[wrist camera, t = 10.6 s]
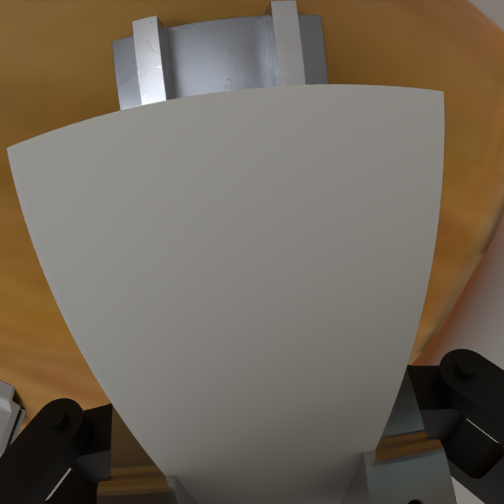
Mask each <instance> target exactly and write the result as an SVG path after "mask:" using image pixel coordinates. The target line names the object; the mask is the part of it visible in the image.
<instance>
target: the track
mask: <svg viewBox="0 0 504 504" xmlns="http://www.w3.org/2000/svg"><path fill="white" fill-rule="evenodd" d="M132 23H133V34H134V36H130V37H127V38H123V39H120V40H116V41H113V42H112V46H113V56H114V65H115V74H116V81H117V89H118V96H119V103H120V110H125V109H129V108H133V107H137V106H142V105H146V104H151V103H156V102H161V101H166V100H171V99H177V98H182V97H188V96H194V95H201V94H207V93H215V92H222V91H230V90H239V89H249V88H260V87H272V86H288V85H314V84H328V77H327V66H326V56H325V47H324V39H323V31H322V23H321V16H320V15H298V14H297V7H296V1H270V4H269V6H268V8H267V10H266V12H265V14H264V16H251V17H238V18H228V19H219V20H212V21H204V22H198V23H191V24H185V25H180V26H174V27H169V28H167V27H166V26H165V25H164V24H163V23H162V21H161V20H160V19H159V18H158V17H157V16H152V17H148V18H144V19H140V20H136V21H132Z"/></svg>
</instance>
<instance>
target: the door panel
mask: <svg viewBox="0 0 504 504" xmlns="http://www.w3.org/2000/svg"><path fill="white" fill-rule="evenodd" d="M7 153H8V157H9V162H10V167H11V171H12V175H13V179H14V183H15V187H16V191H17V195H18V198H19V202H20V205H21V209H22V212H23V215H24V219H25V222H26V225H27V228H28V231H29V234H30V237H31V240H32V243H33V246H34V248H35V251H36V254H37V257H38V259H39V262H40V264H41V267H42V270H43V272H44V275H45V277H46V279H47V282H48V284H49V287H50V289H51V291H52V294H53V296H54V298H55V300H56V303H57V305H58V307H59V309H60V311H61V313H62V316H63V318H64V320H65V322H66V324H67V326H68V328H69V330H70V332H71V334H72V336H73V338H74V340H75V342H76V344H77V345H78V347H79V349H80V351H81V353H82V355H83V357H84V358H85V360H86V362H87V364H88V365H89V367H90V369H91V371H92V372H93V374H94V376H95V377H96V379H97V381H98V382H99V384H100V386H101V387H102V389H103V391H104V392H105V394H106V395H107V397H108V399H109V400H110V402H111V403H112V405H113V406H114V408H115V409H116V411H117V412H118V414H119V415H120V417H121V418H122V420H123V421H124V423H125V424H126V425H127V427H128V428H129V430H130V431H131V432H132V434H133V435H134V437H135V438H136V439H137V441H138V442H139V443H140V445H141V446H142V447H143V449H144V450H145V451H146V453H147V454H148V455H149V456H150V458H151V459H152V460H153V461H154V463H155V464H156V465H157V466H158V468H159V469H160V470H161V471H162V472H163V474H164V475H165V476H176V478H177V479H178V480H179V481H180V483H181V484H182V485H183V486H184V488H185V489H186V490H187V491H188V492H189V493H190V495H191V496H192V497H193V498H194V499H195V500H196V502H197V503H198V504H340V503H341V501H342V499H343V497H344V495H345V493H346V490H347V488H348V486H349V484H350V481H351V479H352V477H353V474H354V472H355V470H356V467H357V465H358V462H359V460H360V457H361V455H362V452H367V451H371V450H375V449H376V447H377V445H378V443H379V440H380V438H381V436H382V433H383V431H384V428H385V426H386V423H387V421H388V418H389V416H390V413H391V411H392V408H393V405H394V403H395V400H396V397H397V394H398V391H399V389H400V386H401V383H402V380H403V377H404V374H405V371H406V367H407V364H408V361H409V358H410V354H411V351H412V347H413V344H414V340H415V337H416V333H417V329H418V325H419V322H420V318H421V313H422V309H423V305H424V301H425V296H426V292H427V287H428V282H429V277H430V272H431V266H432V261H433V255H434V248H435V242H436V235H437V228H438V220H439V212H440V202H441V191H442V179H443V162H444V91H437V90H429V89H419V88H409V87H397V86H381V85H356V84H314V85H288V86H272V87H260V88H249V89H239V90H230V91H222V92H215V93H207V94H201V95H194V96H188V97H182V98H177V99H171V100H166V101H161V102H156V103H151V104H146V105H142V106H137V107H133V108H129V109H125V110H121V111H117V112H113V113H109V114H105V115H102V116H98V117H94V118H91V119H87V120H84V121H81V122H77V123H74V124H71V125H68V126H65V127H62V128H59V129H56V130H53V131H50V132H47V133H44V134H42V135H39V136H36V137H33V138H31V139H28V140H25V141H23V142H20V143H18V144H15V145H13V146H10V147H8V148H7Z"/></svg>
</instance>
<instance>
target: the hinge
mask: <svg viewBox="0 0 504 504" xmlns="http://www.w3.org/2000/svg"><path fill="white" fill-rule="evenodd" d="M14 392H15V388H14V386H12V385H9V384H7V383H5V382H2V381H0V457H1V456H2V454H3V453H4V452H5V451H6V450H7V449H8V447H9V446H10V445H11V444H12V443H13V441H14V440H15V439H16V438H17V436H18V433H19V430H20V427H21V425H22V422H23V419H24V417H25V414H26V411H25V410H24V409H22V408H20V407H21V406H19V405H18V404H16V403H15V402H13V401H12V400H13V396H14Z"/></svg>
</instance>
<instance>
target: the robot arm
mask: <svg viewBox="0 0 504 504" xmlns="http://www.w3.org/2000/svg"><path fill="white" fill-rule="evenodd" d="M467 419H468V420H470V421H471V422H472V423H474V424H475V425H476V426H477V427H479V428H480V429H481V430H483V431H484V432H485V433H487V434H488V435H489V436H491V437H492V438H493V439H495V440H496V441H497V442H498V443H497V442H495V441H494V440H492V439H491V438H490V437H488V436H487V435H486V434H484V433H483V432H482V431H481V430H479V429H478V428H477V427H475V426H474V425H473V424H471V423H470V422H469V421H467ZM499 443H500V444H499ZM69 468H71V471H70V472H69V473H68V475H67V476H66V477H65V479H64V480H63V481H62V483H61V484H60V485H59V487H58V488H57V489H56V491H55V492H54V493H53V495H52V496H51V497H50V498H49V499H48V500H46V498H47V497H48V496H49V494H50V493H51V492H52V490H53V489H54V488H55V486H56V485H57V484H58V482H59V481H60V480H61V478H62V477H63V476H64V475H65V473H66V472H67V470H68V469H69ZM451 476H452V477H453V478H455V479H456V480H457V481H458V482H459V483H461V484H462V485H463V486H464V487H465V488H467V489H468V490H469V491H470V492H472V493H473V494H474V495H475V496H477V497H478V498H479V499H480V500H481V501H483V502H484V503H485V504H504V370H502V369H501V368H499V367H498V366H496V365H495V364H493V363H492V362H490V361H489V360H487V359H486V358H484V357H483V356H481V355H480V354H478V353H476V352H474V351H471V350H467V349H457V350H453V351H450V352H448V353H447V354H446V355H445V356H444V357H443V358H442V360H441V362H440V365H439V366H411V365H407V367H406V371H405V374H404V377H403V380H402V383H401V386H400V389H399V391H398V394H397V397H396V400H395V403H394V405H393V408H392V411H391V413H390V416H389V418H388V421H387V423H386V426H385V428H384V431H383V433H382V436H381V438H380V440H379V443H378V445H377V447H376V449H375V450H371V451H367V452H362V455H361V457H360V460H359V462H358V465H357V467H356V470H355V472H354V474H353V477H352V479H351V481H350V484H349V486H348V488H347V490H346V493H345V495H344V497H343V499H342V501H341V503H340V504H457V502H456V497H455V492H454V487H453V483H452V479H451ZM45 500H46V501H45ZM0 504H198V503H197V502H196V500H195V499H194V498H193V497H192V496H191V495H190V493H189V492H188V491H187V490H186V489H185V488H184V486H183V485H182V484H181V483H180V481H179V480H178V479H177V478H176V476H165V475H164V474H163V472H162V471H161V470H160V469H159V468H158V466H157V465H156V464H155V463H154V461H153V460H152V459H151V458H150V456H149V455H148V454H147V453H146V451H145V450H144V449H143V447H142V446H141V445H140V443H139V442H138V441H137V439H136V438H135V437H134V435H133V434H132V432H131V431H130V430H129V428H128V427H127V425H126V424H125V423H124V421H123V420H122V418H121V417H120V415H119V414H118V412H117V411H116V409H115V408H114V406H113V405H112V403H111V404H108V405H104V406H101V407H97V408H93V409H89V410H85V411H83V409H82V408H81V407H80V405H79V404H78V403H77V402H75V401H74V400H71V399H67V398H62V399H56V400H54V401H51V402H50V403H48V404H47V405H45V406H44V407H43V408H42V409H41V410H40V411H39V413H38V414H37V415H36V416H35V417H34V418H33V419H32V421H31V422H30V423H29V424H28V425H27V426H26V427H25V429H24V430H23V431H22V432H21V433H20V434H19V436H18V437H17V438H16V439H15V440H14V441H13V443H12V444H11V445H10V446H9V447H8V449H7V450H6V451H5V452H4V453H3V454H2V456H1V457H0Z"/></svg>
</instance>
